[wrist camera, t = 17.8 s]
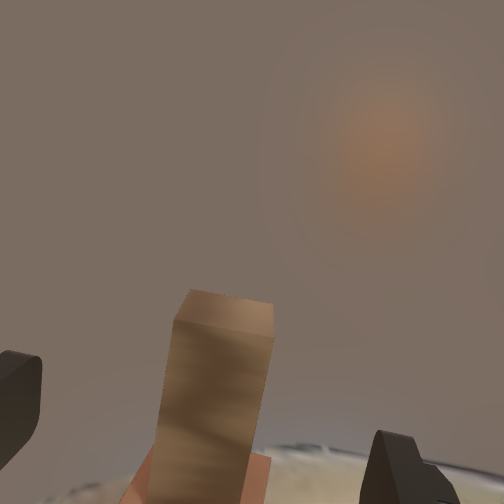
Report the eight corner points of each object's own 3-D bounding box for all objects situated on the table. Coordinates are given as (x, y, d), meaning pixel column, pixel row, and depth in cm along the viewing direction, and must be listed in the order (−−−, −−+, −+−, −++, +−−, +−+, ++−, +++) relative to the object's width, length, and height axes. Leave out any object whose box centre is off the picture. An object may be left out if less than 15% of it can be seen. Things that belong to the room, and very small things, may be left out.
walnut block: (240, 461, 27) (273, 304, 25) (235, 522, 23) (274, 338, 21) (164, 447, 27) (190, 288, 25) (144, 506, 23) (173, 319, 21)
